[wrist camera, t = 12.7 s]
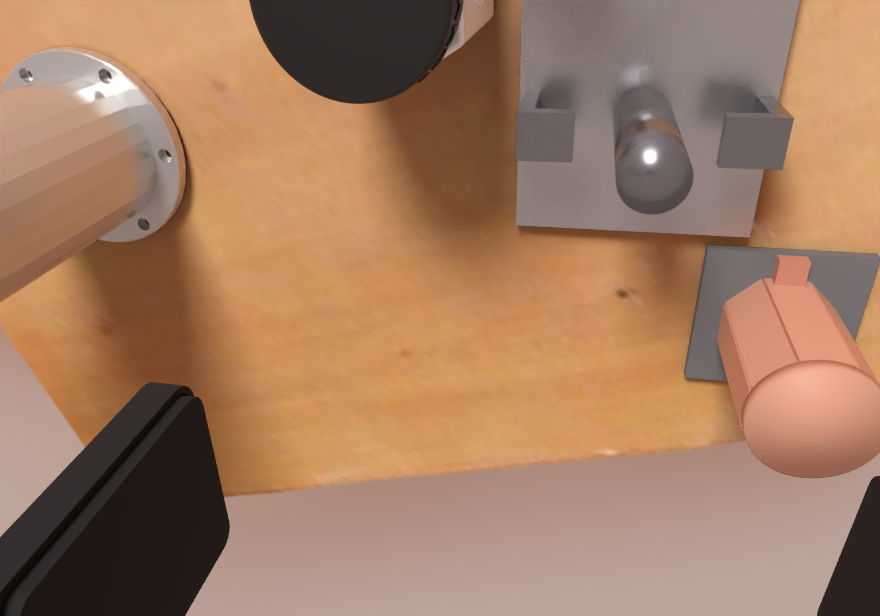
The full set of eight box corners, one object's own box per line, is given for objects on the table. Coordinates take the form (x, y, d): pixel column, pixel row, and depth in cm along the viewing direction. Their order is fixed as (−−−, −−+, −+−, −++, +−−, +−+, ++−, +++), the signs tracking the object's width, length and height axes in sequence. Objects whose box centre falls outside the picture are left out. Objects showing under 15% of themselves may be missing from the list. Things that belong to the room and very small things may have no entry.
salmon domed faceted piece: (731, 252, 39) (765, 340, 31) (854, 259, 38) (922, 352, 30) (705, 383, 44) (728, 490, 36) (814, 393, 43) (864, 506, 34)
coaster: (683, 372, 44) (684, 377, 44) (706, 244, 40) (708, 248, 39) (835, 385, 43) (838, 391, 42) (877, 254, 38) (880, 258, 38)
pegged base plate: (517, 218, 41) (492, 307, 32) (524, -19, 35) (495, 5, 26) (746, 230, 39) (791, 330, 30) (799, -24, 33) (877, 2, 23)
